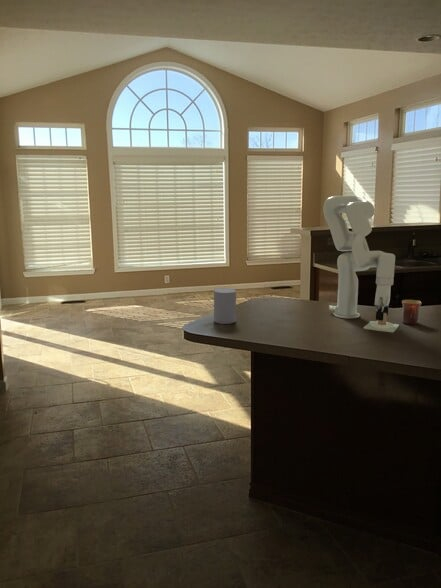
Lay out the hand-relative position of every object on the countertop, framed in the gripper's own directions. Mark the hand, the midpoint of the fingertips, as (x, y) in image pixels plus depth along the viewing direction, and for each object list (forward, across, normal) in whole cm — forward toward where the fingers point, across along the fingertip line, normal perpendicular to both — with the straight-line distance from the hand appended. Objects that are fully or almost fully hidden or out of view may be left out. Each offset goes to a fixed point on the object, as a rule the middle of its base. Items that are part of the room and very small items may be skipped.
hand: (381, 317), depth 238 cm
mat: (+4, 0, 0) cm, 5 cm away
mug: (+5, -13, +11) cm, 17 cm away
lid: (+4, 0, 0) cm, 4 cm away
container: (+5, +27, -67) cm, 72 cm away
